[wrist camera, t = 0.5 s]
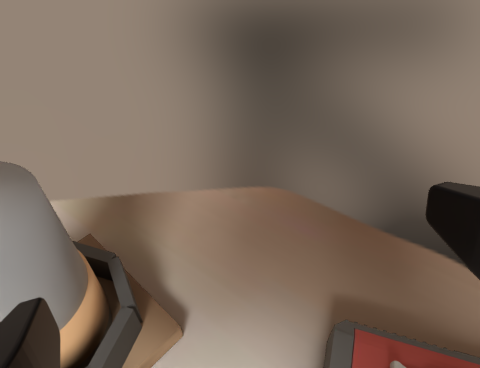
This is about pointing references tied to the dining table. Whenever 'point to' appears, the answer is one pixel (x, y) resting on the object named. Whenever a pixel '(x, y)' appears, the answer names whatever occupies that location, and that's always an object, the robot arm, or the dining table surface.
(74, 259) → the two-tone cylinder
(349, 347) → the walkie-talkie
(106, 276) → the grey octagonal ring
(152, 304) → the walnut board
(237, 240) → the dining table surface
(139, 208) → the dining table surface
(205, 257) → the dining table surface
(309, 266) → the dining table surface
